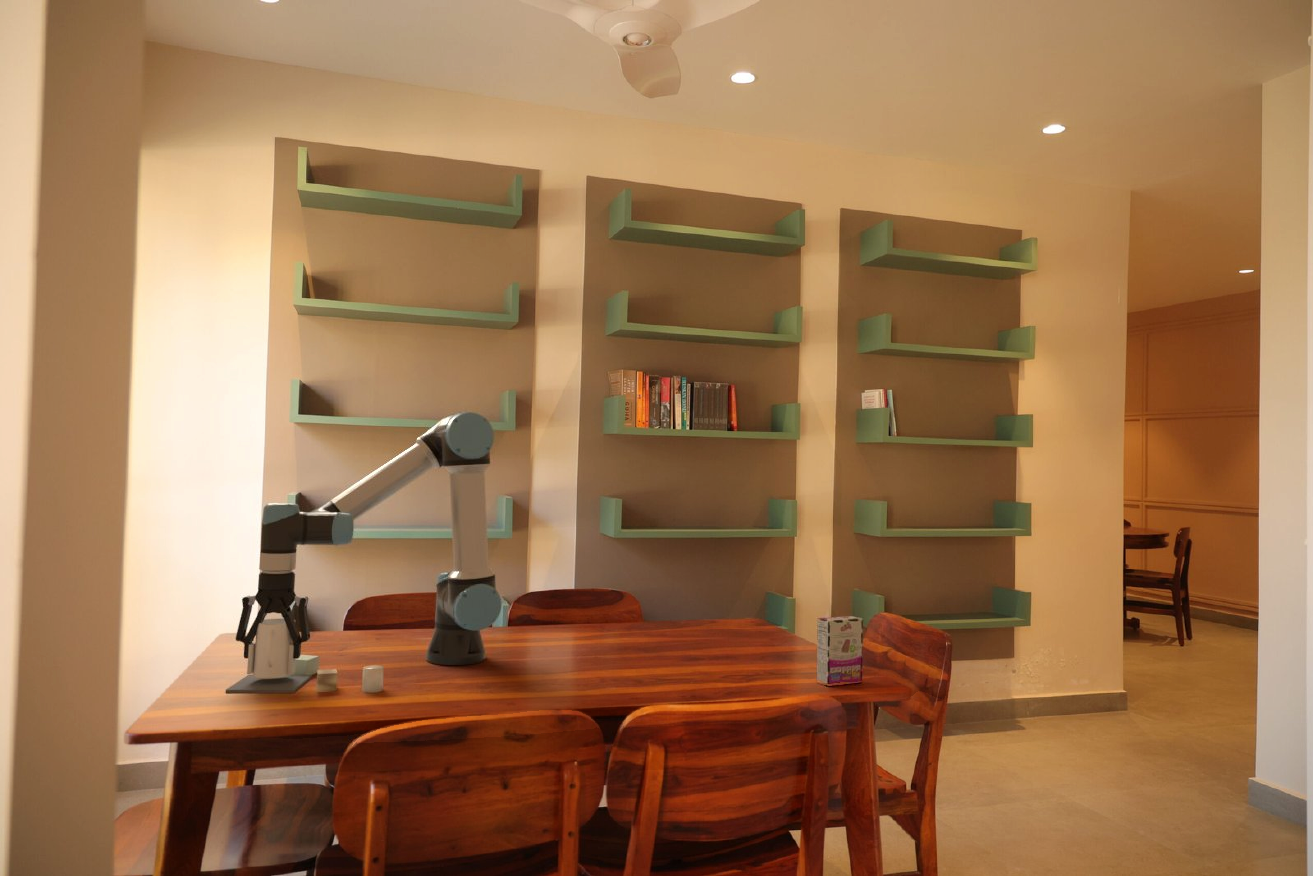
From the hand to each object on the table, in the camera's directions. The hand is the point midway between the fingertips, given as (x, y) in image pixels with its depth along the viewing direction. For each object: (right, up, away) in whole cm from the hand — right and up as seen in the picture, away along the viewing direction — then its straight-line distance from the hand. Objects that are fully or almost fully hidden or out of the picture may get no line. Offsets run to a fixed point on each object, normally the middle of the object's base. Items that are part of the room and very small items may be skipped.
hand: (271, 672), depth 187 cm
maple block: (+13, -3, -2) cm, 14 cm away
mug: (0, -1, 0) cm, 1 cm away
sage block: (+2, -4, +11) cm, 12 cm away
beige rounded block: (+23, -4, -1) cm, 23 cm away
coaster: (0, -3, 0) cm, 3 cm away
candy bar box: (+133, -9, +22) cm, 135 cm away
